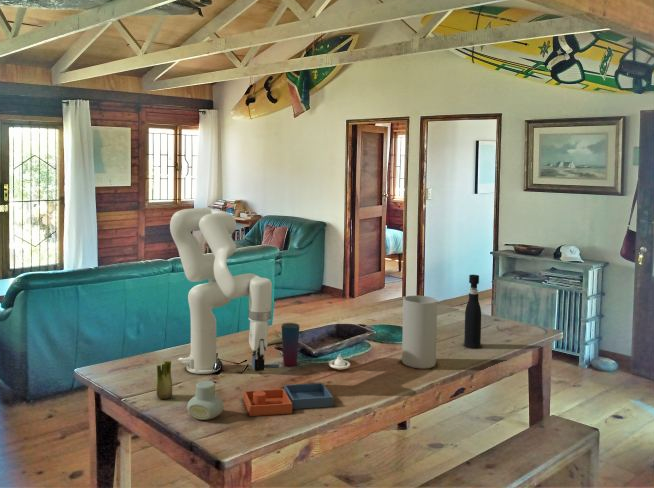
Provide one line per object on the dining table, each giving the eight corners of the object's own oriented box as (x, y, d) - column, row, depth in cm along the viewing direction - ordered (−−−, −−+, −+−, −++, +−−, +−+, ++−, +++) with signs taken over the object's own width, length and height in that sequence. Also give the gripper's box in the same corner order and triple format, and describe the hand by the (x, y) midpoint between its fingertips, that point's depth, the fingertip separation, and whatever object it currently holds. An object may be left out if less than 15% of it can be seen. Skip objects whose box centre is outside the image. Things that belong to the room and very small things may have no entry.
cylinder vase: (395, 363, 231) (397, 299, 229) (411, 356, 240) (413, 293, 238) (426, 371, 222) (427, 305, 221) (441, 363, 231) (442, 299, 230)
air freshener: (182, 418, 181) (183, 385, 180) (195, 408, 189) (195, 376, 188) (215, 424, 177) (216, 391, 176) (227, 413, 185) (227, 381, 184)
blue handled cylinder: (253, 370, 202) (253, 359, 202) (251, 366, 206) (251, 354, 205) (280, 369, 203) (281, 358, 203) (278, 365, 207) (278, 354, 207)
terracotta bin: (249, 416, 183) (250, 406, 183) (243, 400, 195) (243, 391, 195) (292, 413, 185) (292, 403, 185) (283, 397, 197) (283, 388, 197)
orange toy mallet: (254, 408, 187) (254, 396, 187) (252, 403, 191) (252, 391, 191) (283, 406, 189) (283, 394, 189) (281, 401, 193) (281, 389, 193)
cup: (297, 367, 225) (298, 328, 225) (279, 366, 227) (280, 327, 226) (300, 361, 232) (300, 323, 231) (282, 360, 233) (283, 322, 233)
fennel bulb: (157, 401, 193) (157, 365, 192) (153, 396, 198) (153, 360, 197) (174, 399, 195) (174, 362, 195) (170, 393, 200) (170, 358, 199)
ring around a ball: (348, 365, 228) (327, 364, 229) (349, 350, 228) (327, 350, 228) (351, 373, 220) (329, 372, 221) (351, 358, 220) (329, 357, 220)
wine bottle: (463, 347, 251) (465, 276, 250) (464, 343, 257) (466, 273, 256) (480, 349, 249) (482, 277, 248) (480, 344, 255) (482, 274, 253)
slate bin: (292, 409, 188) (292, 399, 188) (284, 393, 200) (284, 385, 200) (333, 406, 191) (333, 397, 191) (322, 391, 203) (322, 382, 203)
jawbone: (293, 337, 265) (293, 332, 265) (279, 351, 246) (279, 346, 246) (273, 333, 268) (274, 328, 268) (258, 347, 249) (259, 342, 249)
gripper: (244, 308, 210) (243, 359, 212) (252, 322, 194) (251, 378, 195) (266, 308, 212) (264, 358, 213) (275, 322, 195) (273, 377, 197)
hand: (258, 367), depth 204 cm, fingers closed on blue handled cylinder, 4 cm apart
